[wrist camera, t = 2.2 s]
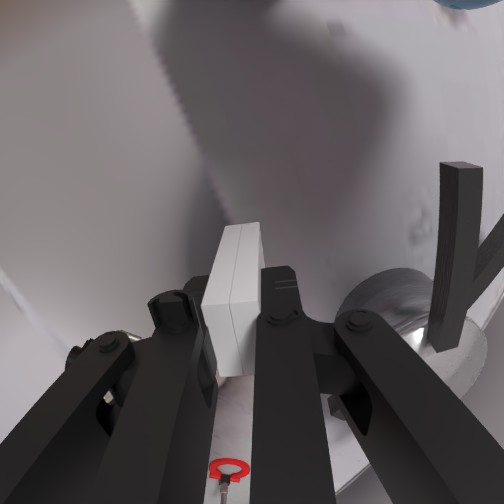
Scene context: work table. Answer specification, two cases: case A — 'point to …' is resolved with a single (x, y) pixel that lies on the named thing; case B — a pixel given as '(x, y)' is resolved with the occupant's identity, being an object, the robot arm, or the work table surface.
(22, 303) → the work table surface
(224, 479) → the tow hook
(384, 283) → the pot
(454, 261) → the lid
